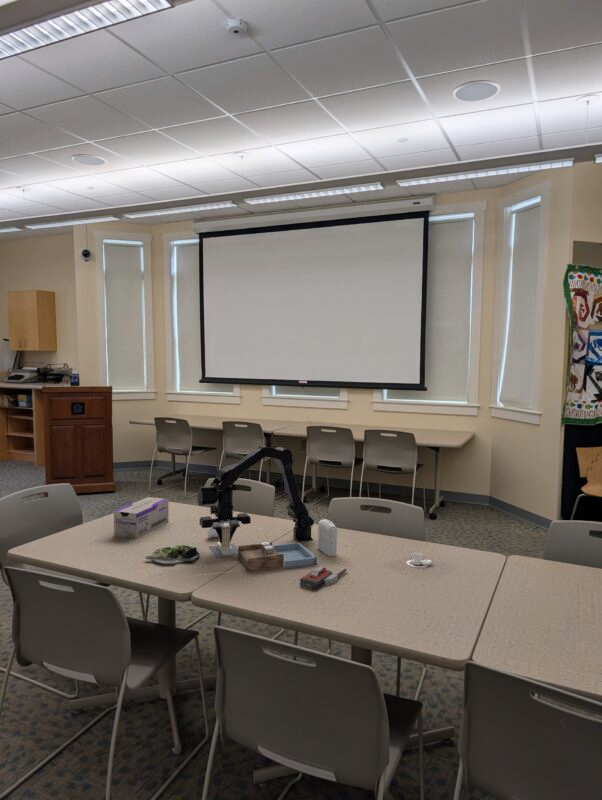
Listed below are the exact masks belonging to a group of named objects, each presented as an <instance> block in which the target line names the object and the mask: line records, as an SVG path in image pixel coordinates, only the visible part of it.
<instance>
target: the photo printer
mask: <svg viewBox="0 0 602 800" xmlns="http://www.w3.org/2000/svg"><path fill="white" fill-rule="evenodd" d="M317 525H318V529H317V533H318V535H317V548H318V550H320V552H322V553H324V554H325V555H326V556H328V557H334V556H336V555H337V550H338V549H337V548H338V547H337V546H338V545H337V544H338V540H337V539H338V529H337V526H336V525H335V524H334V522H332V521H331V520H330V519H326V518H325V519H320V520H319V522H318V524H317Z"/></svg>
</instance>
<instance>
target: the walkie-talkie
mask: <svg viewBox="0 0 602 800" xmlns="http://www.w3.org/2000/svg"><path fill="white" fill-rule="evenodd" d="M347 571H348V570H347V568H344V569H343V570H340V572H337V573H336V574H334V573H333V572H332V571H331V570H328V569H327V568H326V567H323V566H317V567H316V568H314V569H313V570H311V571H310V572H309V573H307V574H305V575H304V576H302V577H300V579H299V585H300V587H303V588H306V589H311V590H315V591H316V590H319V589H320V588H321V587H323V586H328V585H329V586H330V585H332V584H333V585H334V583H336V582H338V581H339V577H340V576H342V575H343V574H344V573H345V572H347Z"/></svg>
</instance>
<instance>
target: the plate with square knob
mask: <svg viewBox="0 0 602 800" xmlns="http://www.w3.org/2000/svg"><path fill="white" fill-rule="evenodd" d="M221 531H222V543H220V541H217V542H216V546H217V548H218V549H219V551H220V552H221V553H222V555H223V556H224V555H232V554H233V548H232V547H231V545H230V544H231V542H230V528H229V526H224V527H221Z"/></svg>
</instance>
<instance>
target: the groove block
mask: <svg viewBox="0 0 602 800" xmlns="http://www.w3.org/2000/svg"><path fill="white" fill-rule="evenodd" d="M269 543H270V546H271V545H273V542H269ZM237 549H238V555H237V557H238V559H239V560H240V561H241V563H242V564H243V566H245V569H246V570H247V572H252V571H253V572H254V571H261V570H268V569H276V568H277V569H278V568H284V554H279V553H278V552H277V551H276V550H275V549H274V555H266V556H265V555H264V553H262V552H261V551H260V543H253V544H244V545H238V546H237Z"/></svg>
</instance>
